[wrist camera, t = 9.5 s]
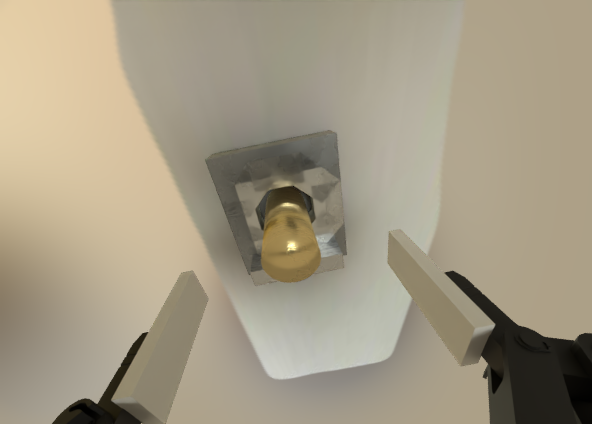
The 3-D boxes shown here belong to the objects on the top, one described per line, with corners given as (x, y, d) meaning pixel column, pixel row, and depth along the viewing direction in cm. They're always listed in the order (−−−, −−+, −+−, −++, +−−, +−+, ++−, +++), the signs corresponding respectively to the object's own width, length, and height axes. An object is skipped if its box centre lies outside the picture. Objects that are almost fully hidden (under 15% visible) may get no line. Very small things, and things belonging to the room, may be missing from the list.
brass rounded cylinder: (258, 202, 24) (248, 259, 15) (287, 178, 23) (294, 222, 14) (283, 227, 25) (288, 290, 17) (311, 205, 24) (332, 260, 16)
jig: (212, 153, 21) (196, 165, 17) (329, 130, 21) (343, 135, 17) (251, 260, 27) (246, 289, 23) (340, 242, 27) (352, 267, 23)
